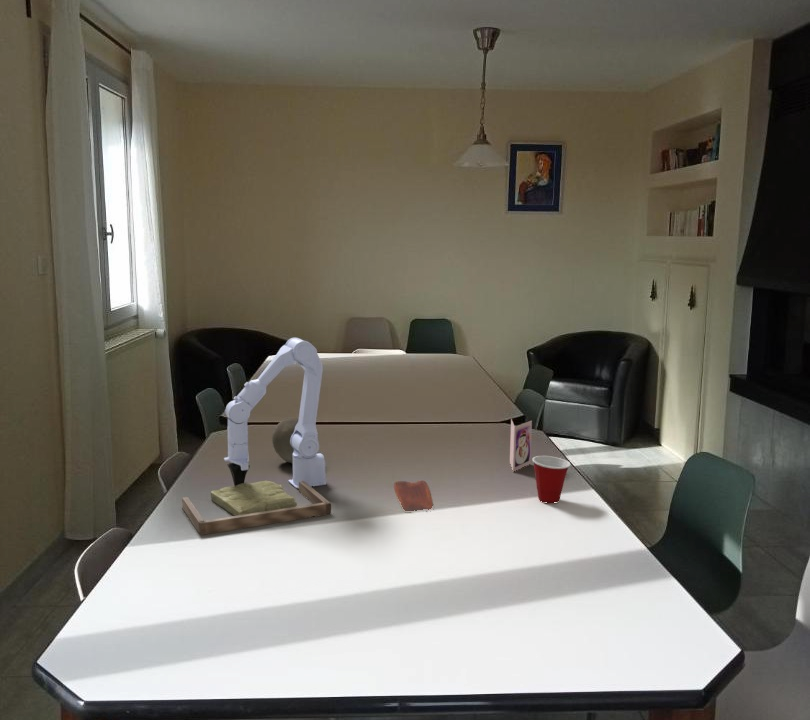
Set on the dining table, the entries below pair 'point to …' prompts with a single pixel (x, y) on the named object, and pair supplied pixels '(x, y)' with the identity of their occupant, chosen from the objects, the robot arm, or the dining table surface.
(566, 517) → the dining table surface
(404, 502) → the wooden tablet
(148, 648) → the dining table surface
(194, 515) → the frame
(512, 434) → the greeting card
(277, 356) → the robot arm
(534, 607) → the dining table surface
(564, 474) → the plastic cup
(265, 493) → the decorative tile
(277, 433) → the cantaloupe
